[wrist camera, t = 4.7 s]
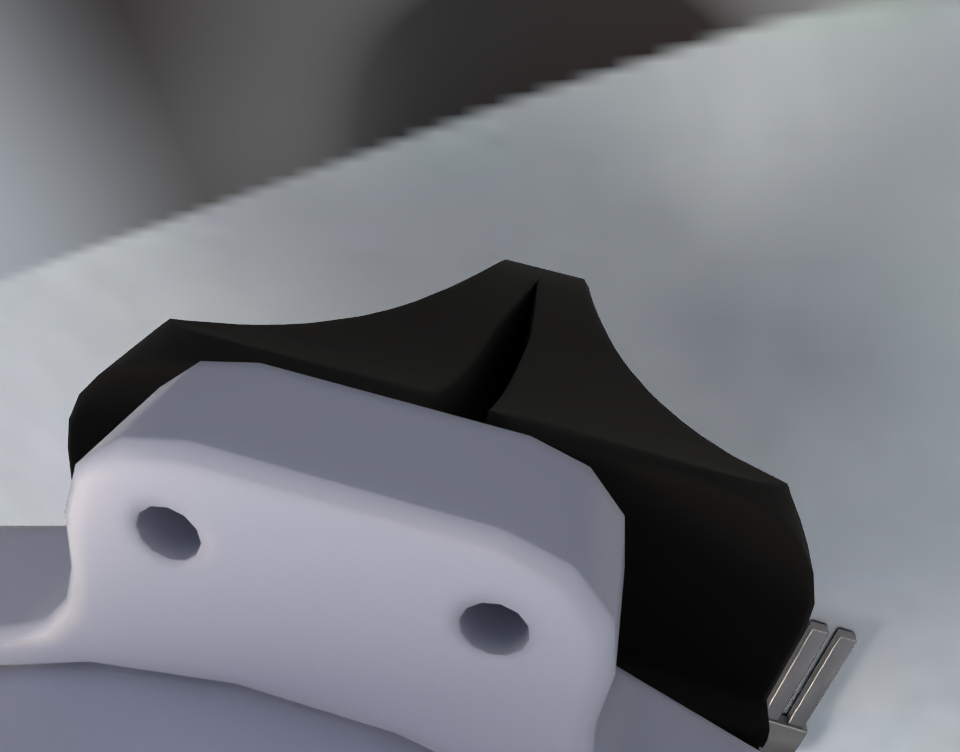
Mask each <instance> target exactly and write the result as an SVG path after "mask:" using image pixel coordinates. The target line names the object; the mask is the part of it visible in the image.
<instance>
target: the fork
mask: <svg viewBox="0 0 960 752" xmlns="http://www.w3.org/2000/svg"><path fill="white" fill-rule="evenodd" d="M828 634H829V631H828V626H827V625H824V624H820V623H817V622H813V621H811V622H810V624H809V626H808V628H807V629H806V631H805V633H804V635H803V636H802V638H801V640H800V642H799V644H798V645H797V647H796V649H795V651H794V652H793V654H792V656H791V658H790V660H789V661H788V663H787V665H786V667H785V668H784V670H783V672H782V674H781V676H780V677H779V679H778V681H777V683H776V684H775V686H774V688H773V690H772V692H771V693H770V695H769V697H768V699H767V708H768V717H769V726H770V731H769V736H768V740H767V742H766V743H765V745H764V747H763V748H761V747H759V751H760V752H795V751H796V749H797V748H798V746H799V744H800V743H801V741H802V740H803V738H804V736H805V735H806V733H807V727H806V722H807V721H808V719H809V718H810V716H811V714H812V713H813V711H814V709H815V708H816V706H817V705H818V703H819V701H820V700H821V698H822V696H823V695H824V693H825V692H826V690H827V688H828V687H829V685H830V684H831V682H832V680H833V679H834V677H835V675H836V674H837V672H838V671H839V669H840V667H841V666H842V664H843V662H844V661H845V659H846V658H847V656H848V654H849V653H850V651H851V649H852V648H853V646H854V645H855V643H856V637H855V633H852V632H849V631H845V630H841V629H838V630H837V632H836V634H835V635H834V637H833V639H832V641H831V642H830V644H829V646H828V647H827V649H826V651H825V652H824V654H823V656H822V657H821V659H820V661H819V662H818V664H817V666H816V668H815V669H814V671H813V673H812V674H811V676H810V678H809V679H808V681H807V683H806V684H805V686H804V688H803V689H802V691H801V693H800V695H799V696H798V698H797V700H796V701H795V703H794V705H793V706H792V708H791V710H790V711H789V713H788V715H787V716H784V715H781V714H782V713H783V711H784V709H785V707H786V706H787V704H788V702H789V701H790V699H791V697H792V696H793V694H794V692H795V690H796V689H797V687H798V685H799V684H800V682H801V680H802V678H803V677H804V675H805V673H806V672H807V670H808V668H809V667H810V665H811V663H812V661H813V660H814V658H815V656H816V655H817V653H818V651H819V649H820V648H821V646H822V644H823V643H824V641H825V639H826V637H827V636H828Z"/></svg>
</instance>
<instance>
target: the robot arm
mask: <svg viewBox="0 0 960 752" xmlns="http://www.w3.org/2000/svg"><path fill="white" fill-rule="evenodd" d="M68 452H69V461H70V470H71V478H72V482H71V487H70V491H69V496H68V500H67V504H66V509H65V518H66V526H0V752H760V751H759V747H761V748H763V747H764V745H765V743H766V742H767V740H768V736H769V731H770V726H769V717H768V708H767V698H768V696H769V695H770V693H771V691H772V689H773V687H774V686H775V684H776V682H777V680H778V679H779V677H780V675H781V673H782V671H783V670H784V668H785V666H786V664H787V663H788V661H789V659H790V657H791V655H792V654H793V652H794V650H795V648H796V647H797V645H798V643H799V641H800V639H801V638H802V636H803V634H804V632H805V630H806V627H807V624H808V621H809V618H810V616H811V613H812V610H813V607H814V604H815V603H814V576H813V569H812V564H811V559H810V554H809V549H808V545H807V541H806V538H805V534H804V531H803V527H802V524H801V521H800V518H799V515H798V512H797V510H796V507H795V505H794V502H793V499H792V497H791V494H790V490H789V487H788V485H787V483H785V482H783V481H781V480H779V479H777V478H775V477H773V476H771V475H769V474H767V473H765V472H763V471H761V470H759V469H757V468H755V467H753V466H751V465H749V464H747V463H746V462H744V461H742V460H740V459H738V458H736V457H734V456H732V455H730V454H729V453H727V452H725V451H724V450H722V449H721V448H719V447H718V446H716V445H715V444H713V443H712V442H710V441H709V440H707V439H705V438H704V437H702V436H701V435H699V434H698V433H697V432H695V431H694V430H693V429H691V428H690V427H689V426H687V425H686V424H685V423H683V422H682V421H681V420H680V419H679V418H677V417H676V416H675V415H674V414H673V413H672V412H670V411H669V410H668V409H667V408H666V407H665V406H663V405H662V404H661V403H660V402H659V401H658V400H657V399H656V398H655V397H654V396H653V395H652V394H651V393H650V392H649V391H648V390H647V389H646V388H645V387H644V386H643V384H642V383H641V382H640V381H639V380H638V379H637V378H636V376H635V375H634V374H633V373H632V372H631V371H630V369H629V368H628V367H627V365H626V364H625V363H624V361H623V360H622V358H621V357H620V355H619V354H618V352H617V351H616V349H615V348H614V346H613V344H612V342H611V341H610V339H609V337H608V335H607V333H606V331H605V329H604V327H603V325H602V323H601V321H600V318H599V316H598V314H597V311H596V309H595V306H594V304H593V301H592V298H591V295H590V291H589V287H588V285H587V284H586V282H585V280H584V279H581V278H577V277H573V276H569V275H565V274H561V273H557V272H553V271H549V270H545V269H541V268H537V267H533V266H529V265H525V264H522V263H518V262H514V261H510V260H504V261H501V262H499V263H497V264H495V265H493V266H492V267H490V268H488V269H486V270H484V271H482V272H480V273H478V274H477V275H475V276H472V277H470V278H468V279H466V280H464V281H462V282H460V283H458V284H456V285H454V286H452V287H450V288H448V289H445V290H443V291H440V292H438V293H435V294H433V295H430V296H428V297H425V298H423V299H420V300H418V301H415V302H412V303H409V304H406V305H403V306H400V307H397V308H393V309H390V310H386V311H381V312H377V313H373V314H369V315H364V316H359V317H353V318H345V319H338V320H331V321H324V322H316V323H306V324H287V325H238V324H225V323H211V322H198V321H185V320H177V319H169V320H168V321H166V322H165V323H164V324H162V325H161V326H160V327H158V328H157V329H156V330H154V331H153V332H152V333H151V334H149V335H148V336H147V337H146V338H144V339H143V340H142V341H141V342H139V343H138V344H137V345H136V346H134V347H133V348H132V349H131V350H129V351H128V352H127V353H126V354H124V355H123V356H122V357H121V358H119V359H118V360H117V361H116V362H114V363H113V364H112V365H111V366H109V367H108V368H107V369H106V370H104V371H103V372H102V373H100V374H99V375H98V376H97V377H96V378H95V379H94V380H93V381H92V382H91V383H90V384H89V385H88V386H87V387H86V388H85V389H84V390H83V391H82V392H81V393H80V394H79V396H78V399H77V401H76V404H75V406H74V409H73V411H72V413H71V416H70V418H69V433H68Z"/></svg>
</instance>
